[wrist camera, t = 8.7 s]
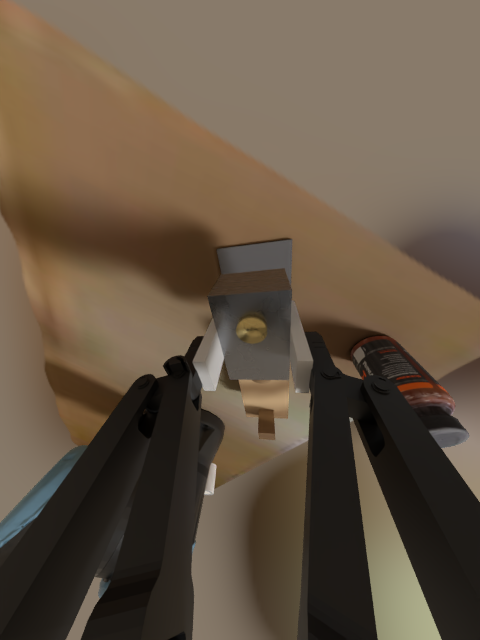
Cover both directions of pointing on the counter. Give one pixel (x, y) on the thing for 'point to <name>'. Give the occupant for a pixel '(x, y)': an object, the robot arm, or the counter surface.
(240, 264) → the mat
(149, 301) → the counter surface
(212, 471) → the white cup
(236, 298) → the lever cap
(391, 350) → the supplement bottle
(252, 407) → the body
